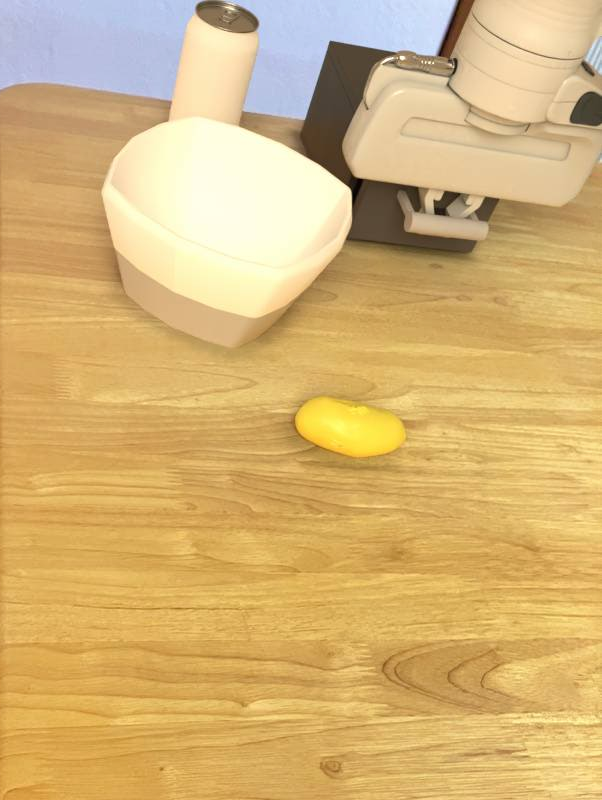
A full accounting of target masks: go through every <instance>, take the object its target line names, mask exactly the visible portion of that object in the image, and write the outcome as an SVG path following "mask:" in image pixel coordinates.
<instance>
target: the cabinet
mask: <svg viewBox="0 0 602 800" xmlns="http://www.w3.org/2000/svg"><path fill="white" fill-rule="evenodd" d="M397 52H398V51H392V50H391V51H390V50H385V49H381V48H374V47H369V46H363V45H358V44H353V43H352V44H351V43H346V42H340V41H334V40H329V42H328V45H327V48H326V51H325V55H324V57H323V58H324V59H323V61H322V65H321V68H320V71H319V73H318V77H317V80H316V83H315V87H314V89H313V93H312V96H311V99H310V103H309V105H308V108H307V112H306V115H305V117H304V122H303V125H302V128H301V131H300V134H299V139H300V140H301V141H300V142H301V144H302V146H303V149H304V151H305V155H306V158H308V159H310V160H312V161H313V162H315V163H317V164H319V165H320V166H322V167H323V168H324V169H326V170H327V171H328V172H329V173H331V174H332V175H333V176H335V177H336V178H337V179H339V180H340V181H341V182H342V183H344V184H345V185H346V186H348V187H349V188H350V189H351V193H352V194H353V191H354V189H355V186H356V184H357V181H358V178H356V177H355V176H353V174H352V172H351V171H350V169H349V167H348V165H347V163H346V161H345V158H344V154H343V150H342V143H343V140H344V137H345V135H346V132H347V130H348V128H349V125H350V123H351V121H352V119H353V117H354V115H355V113H356V111H357V109H358V107H359V105H360V103H361V101H362V99H363V93H364V89H365V86H366V83H367V80H368V78H369V75H370V72H371V70H372V68H373V67H374V65H375V64H376V63H377V62H379V61H381V60H382V59H384V58H385V57H388V56H392V55H396V53H397ZM389 63H391V64H395V63H394V61H393V62H389Z"/></svg>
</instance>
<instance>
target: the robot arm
mask: <svg viewBox="0 0 602 800" xmlns="http://www.w3.org/2000/svg"><path fill="white" fill-rule="evenodd" d="M601 37H602V0H474V1H473V4H472V5H471V8H470V11H469V13H468V15H467V17H466V19H465V22H464V24H463V26H462V29H461V31H460V34H459V36H458V38H457V41H456V42H455V46H454V48H453V50H452V53H451V54H450V57H445V56H438V55H430V54H429V55H427V54H419V53H417V52H415V51H413V50H404V49H403V50H397V51H396V52H397V53H396V55H392V56H388V57H385V58H384V59H382V60H381V61H379V62H377V63H376V64H375V65H374V67H373V68H372V70H371V72H370V75H369V78H368V80H367V83H366V86H365V89H364V93H363V99H362V101H361V103H360V105H359V107H358V109H357V111H356V113H355V115H354V117H353V119H352V121H351V123H350V125H349V128H348V130H347V132H346V135H345V137H344V140H343V143H342V150H343V154H344V158H345V161H346V163H347V165H348V167H349V169H350V171H351V172H352V174H353V176H355V177H356V178H361V179H368V180H375V181H382V182H389V183H395V184H402V185H409V186H416V187H418V189H419V196H420V204H421V209H420V211H419V213H427V214H434V215H442V216H449V217H457V218H466V217H467V216H468V215H470V214H471V213H472V212H474V211H475V210H476V209H478V208H479V207H480V205H481V204H482V202H483V200H484V198H485V197H492V198H499V200H506V201H512V202H519V203H526V204H527V203H528V204H534V205H540V206H541V205H542V206H547V207H553V208H554V207H555V208H561V207H563V206H565V205H566V204H568V203H569V202H571V201H573V200H574V199H575V198H577V196H578V195H579V194H580V193H581V190H582V189H583V187H584V186H585V184H586V183H587V181H588V179H589V177H590V175H591V174H592V172H593V170H594V168H595V166H596V164H597V162H598V160H599V159H600V156H601V154H602V75H601V74H600V72H598V70H597V69H596V68H595V67H594V66H593V65H592V64H591V63H590V62H588V61H587V60H586V59H585V57H586V55H587V53H588V52H589V50H590V48H591V46H592V45H593V43H594V42H595V41H597V40H598V39H600V38H601ZM393 61H394V63H395V64H391V63H389V62H393ZM444 191H451V192H457V193H461V195H460V196H459V197H458V198H457V199H456V200H454V201H453V202H452V203H451V204H450V205H449V206H448V207H447V208H446V209H442V208H434V203H433V200H434V199H435V200H438V201H439V200H441V198H442V196H443V193H444ZM418 234H420V233H418ZM424 235H428V234H424ZM431 236H436V235H431ZM439 237H444V236H439ZM447 238H450V237H447Z"/></svg>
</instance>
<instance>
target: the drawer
mask: <svg viewBox="0 0 602 800" xmlns="http://www.w3.org/2000/svg"><path fill="white" fill-rule="evenodd" d="M460 195H461V193H457V192H451V191H444V193H443V196H442V198H441V200H439V201H438V200H435V199H434V200H433V203H434V208H442V209H446V208H447V207H448V206H449V205H450V204H451V203H452V202H453V201H454V200H456V199H457V198H458V197H459V196H460ZM499 201H500V199H499V198H492V197H485V198H484V200H483V202H482V204H481V205H480V207H479V208H478V209H476V210H475V211H474V212H472V213H471V214H470V215H468V216H467V217H466V218H457V217H449V216H442V215H434V214H427V213H419V211H420V209H421V204H420V196H419V189H418V187H416V186H409V185H402V184H395V183H389V182H382V181H375V180H368V179H361V178H358V181H357V184H356V186H355V189H354V191H353V194H352V224H351V228H350V230H349V232H348V235H347V237H346V239H353V240H361V241H371V242H379V243H387V244H395V245H402V246H403V245H404V246H411V247H420V248H427V249H436V250H444V251H452V252H460V253H469V254H471V253H472V252H473V250H474V248H476V244H477V243H478V242H483V241H485V240H486V239H487V237H488V235H489V230H490V226H489V223H488V222H489V220H490V218H491V217H492V214H493V213H494V211H495V209H496V207H497V205H498V203H499ZM418 233H420V234H418ZM424 234H428V235H424ZM431 235H436V236H431ZM439 236H444V237H439ZM447 237H450V238H447Z"/></svg>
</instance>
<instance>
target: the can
mask: <svg viewBox="0 0 602 800" xmlns="http://www.w3.org/2000/svg"><path fill="white" fill-rule="evenodd" d="M259 27H260V20H259V18H258V17H257V15H255V14H254V13H253V12H252V11H251V10H249V9H247V8H245V7H243V6H241V5H239V4H236V3H233V2H230V1H226V0H201V1H199V2H198V3H196V5H195V7H194V14H193V15H192V16H191V17H190V19H188V22H187V25H186V28H185V32H184V37H183V43H182V48H181V53H180V57H179V62H178V67H177V73H176V78H175V84H174V87H173V88H174V89H173V94H172V100H171V104H170V109H169V114H168V120H167V122H169V121H173V120H177V119H181V118H186V117H190V116H195V115H197V116H201V117H205V118H209V119H213V120H216V121H220V122H224V123H228V124H231V125H235V126H239V127H240V122H241V117H242V114H243V110H244V106H245V103H246V100H247V95H248V91H249V87H250V83H251V79H252V77H253V76H252V75H253V71H254V67H255V63H256V59H257V56H258V51H259V46H260V39H259V34H258V29H259Z"/></svg>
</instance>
